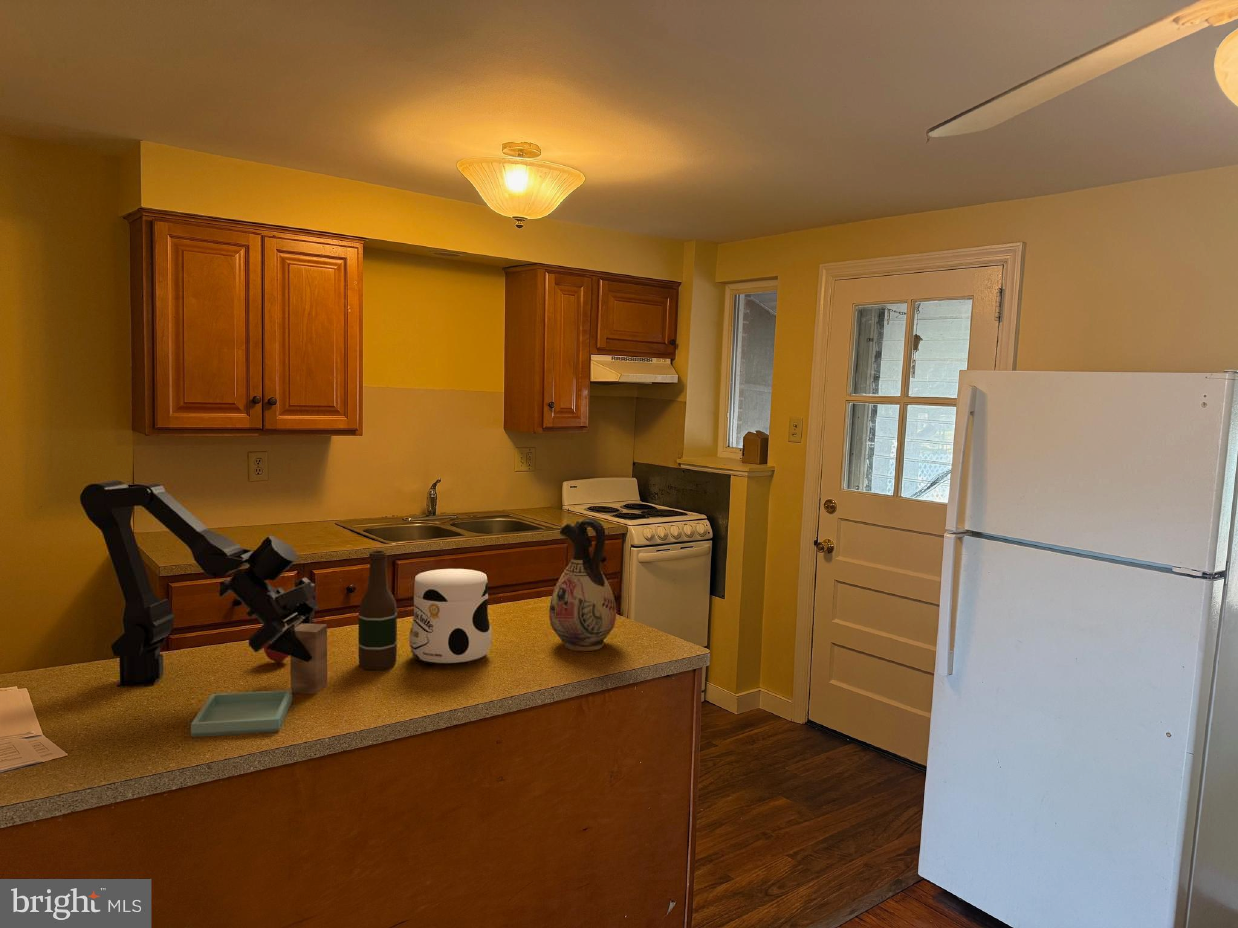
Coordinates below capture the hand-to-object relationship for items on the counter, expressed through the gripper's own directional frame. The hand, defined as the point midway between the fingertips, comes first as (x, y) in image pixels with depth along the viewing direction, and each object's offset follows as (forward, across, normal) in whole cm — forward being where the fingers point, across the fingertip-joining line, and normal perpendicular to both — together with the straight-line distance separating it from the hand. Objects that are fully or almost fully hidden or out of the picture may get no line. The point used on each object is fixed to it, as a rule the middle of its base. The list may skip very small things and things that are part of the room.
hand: (316, 655), depth 159 cm
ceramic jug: (+39, +33, -29) cm, 59 cm away
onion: (-5, +13, +14) cm, 20 cm away
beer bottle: (+10, +15, 0) cm, 18 cm away
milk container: (+20, +21, -10) cm, 30 cm away
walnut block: (+4, 0, +6) cm, 7 cm away
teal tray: (0, -15, +9) cm, 18 cm away
